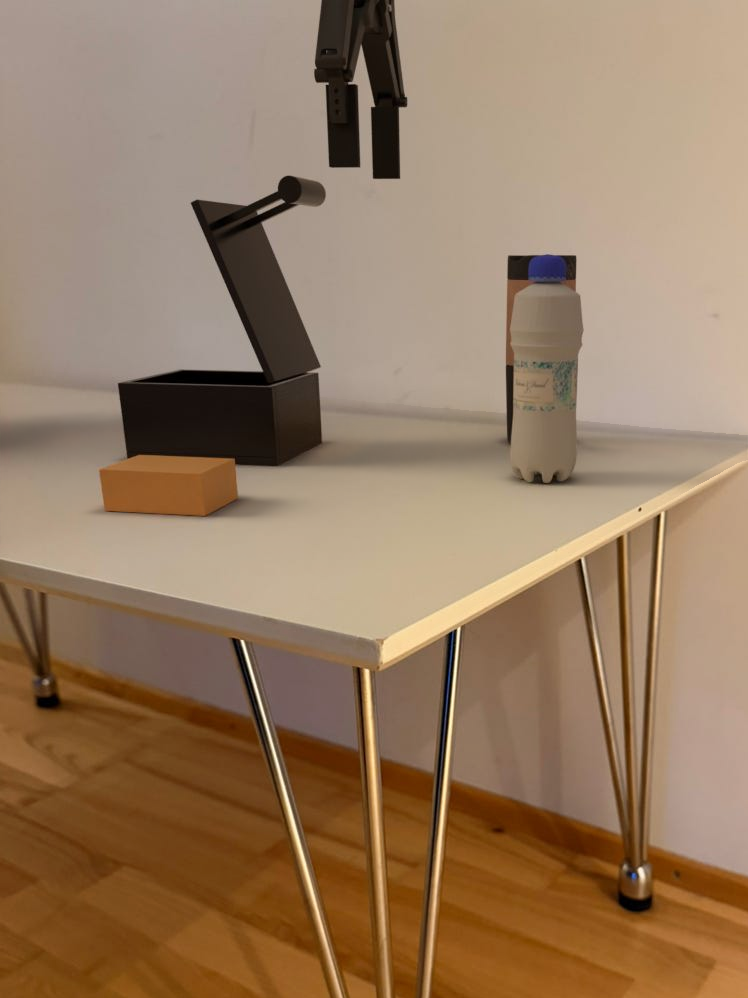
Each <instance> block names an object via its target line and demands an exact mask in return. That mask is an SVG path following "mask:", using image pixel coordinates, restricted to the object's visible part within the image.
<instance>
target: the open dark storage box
mask: <svg viewBox="0 0 748 998" xmlns="http://www.w3.org/2000/svg"><path fill="white" fill-rule="evenodd" d="M117 389H118V396H119V397H118V398H119V404H120V411H121V412H120V413H121V419H122V420H121V421H122V428H123V435H124V443H125V451H126V459H129V458H132V457H135V456H137V455H155V456H180V457H205V458H230V459H235V465H248V466H249V465H250V466H251V465H252V466H272V467H274V466H275V467H277V466H279V465H281V464H283V463H285V462H288V461H289V460H291V459H294V458H295V457H297V456H299V455H301V454H303V453H305V452H307V451H309V450H311V449H313V448H315V447H317V446H319V445H321V444H323V431H322V429H323V428H322V415H321V414H322V411H321V395H320V393H321V392H320V377H319V372H311V371H309V372H306V373H302V374H299V375H296V376H292V377H289V378H285V379H282V380H279V381H275V382H272V383H268V382H267V380H266V377H265V375H264V373H263V370H224V369H223V370H220V369H219V370H217V369H175V370H172V371H166V372H161V373H157V374H153V375H148V376H143V377H139V378H135V379H130V380H129V379H128V380H126V381H121V382H117Z"/></svg>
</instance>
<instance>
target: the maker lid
mask: <svg viewBox="0 0 748 998" xmlns="http://www.w3.org/2000/svg"><path fill="white" fill-rule="evenodd" d="M326 193H327V192H326V189H325V186H324V185H323V184H322V183H321V182H319V181H318V180H312V179H309V178H304V177H299V176H294V175H284V176H283V177H282V178H280V180H279V182H278V184H277V191H274V192H273V193H270V194H268V195H266V196H264V197H263V198H260V199H258V200H256V201H254V202H251V203H250V204H248V205H245V204H236V203H229V202H220V201H213V200H205V199H195V200H193V201H191V202H190V205H191V207H192V210H193V212H194V214H195V217H196V219H197V222H198V224H199V226H200V228H201V231H202V233H203V236H204V238H205V240H206V243H207V245H208V247H209V249H210V252H211V254H212V256H213V259H214V261H215V263H216V266H217V268H218V270H219V274H220V275H221V277H222V279H223V282H224V284H225V287H226V290H227V291H228V294H229V296H230V298H231V301H232V303H233V305H234V308H235V310H236V312H237V314H238V316H239V319H240V322H241V323H242V326H243V328H244V331H245V334H246V335H247V338H248V340H249V342H250V344H251V347H252V349H253V351H254V354H255V356H256V359H257V361H258V363H259V366H260V368H261V371H263V373H264V375H265V377H266V380H267V382H268V383H272V382H275V381H279V380H282V379H285V378H289V377H292V376H296V375H299V374H302V373H306V372H313V371H315V370H318V369H320V368H322V366H321V363H320V361H319V359H318V356H317V354H316V351H315V349H314V346H313V344H312V342H311V338H310V337H309V334H308V332H307V329H306V327H305V325H304V323H303V320H302V318H301V315H300V313H299V310H298V308H297V305H296V303H295V300H294V297H293V295H292V294H291V293H292V292H291V290H290V288H289V285H288V283H287V281H286V278H285V276H284V273H283V271H282V268H281V266H280V264H279V261H278V259H277V257H276V254H275V252H274V250H273V247H272V244H271V243H270V240H269V237H268V235H267V233H266V230H265V227H264V225H263V223H265V222H267V221H268V220H270V219H273V218H275V217H277V216H279V215H282V214H283V213H285V212H287V211H290V210H292V209H294V208H296V207H298V206H306V207H314V208H317V207H320V206H321V205H323V203H324V202H325V201H326V196H327V194H326ZM280 201H283V202H282V203H280V204H278V205H276V206H273V207H271V208H269V209H267V210H265V211H263V212H261V213H258V211H261V210H263V209H265V208H267V207H269V206H271V205H273V204H275V203H277V202H280Z"/></svg>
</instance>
